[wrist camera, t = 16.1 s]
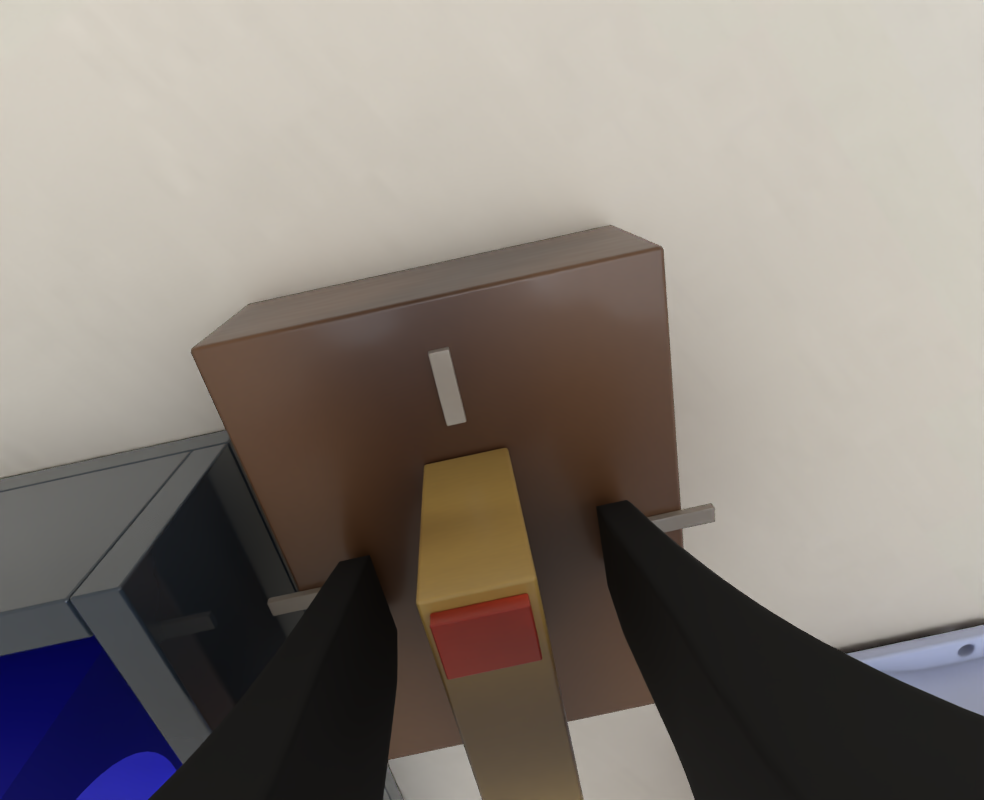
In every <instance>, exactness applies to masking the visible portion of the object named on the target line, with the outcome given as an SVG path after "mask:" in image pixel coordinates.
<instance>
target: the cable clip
mask: <svg viewBox="0 0 984 800" xmlns="http://www.w3.org/2000/svg"><path fill="white" fill-rule="evenodd" d="M182 765H183V764H182V763H181V762H180V760H179V759H178V757H177V756H176V754H175V753H174V751H173V750H172V749H171V747H170V746H169V744H168V743H167V741H166V740H165V738H164V737H163V735H162V734H161V733H160V731H159V730H158V728H157V727H156V725H155V724H154V722H153V721H152V719H151V718H150V717H149V715H148V714H147V712H146V711H145V709H144V708H143V706H142V705H141V704H140V702H139V701H138V699H137V698H136V696H135V695H134V693H133V692H132V690H131V689H130V688H129V686H128V685H127V683H126V682H125V680H124V679H123V677H122V676H121V674H120V673H119V672H118V670H117V669H116V667H115V666H114V664H113V663H112V661H111V660H110V658H109V657H108V656H107V654H106V653H105V651H104V650H103V648H102V647H101V645H100V644H99V643H98V641H97V640H96V638H95V637H94V635H93V636H92V637H90V638H86V639H81V640H76V641H72V642H67V643H62V644H58V645H53V646H48V647H44V648H39V649H34V650H30V651H25V652H20V653H16V654H11V655H6V656H2V657H0V800H148V799H149V798H150V797H151V796H152V795H153V794H154V793H155V792H156V791H157V790H158V789H159V788H160V787H161V786H162V785H163V784H164V783H165V782H166V781H167V780H168V779H169V778H170V777H171V776H172V775H173V774H174V773H175V772H176V771H177V770H178V769H179V768H180V767H181V766H182Z"/></svg>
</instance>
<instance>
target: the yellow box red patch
mask: <svg viewBox="0 0 984 800" xmlns="http://www.w3.org/2000/svg"><path fill="white" fill-rule="evenodd" d="M416 606H417V609H418V612H419V615H420V617H421V620H422V623H423V626H424V629H425V632H426V635H427V638H428V641H429V644H430V647H431V650H432V653H433V656H434V659H435V662H436V665H437V668H438V671H439V674H440V677H441V679H442V682H443V685H444V688H445V691H446V694H447V697H448V700H449V703H450V706H451V709H452V712H453V715H454V718H455V721H456V724H457V727H458V730H459V733H460V736H461V739H462V741H463V744H464V747H465V750H466V753H467V756H468V759H469V762H470V765H471V768H472V771H473V774H474V777H475V780H476V783H477V786H478V789H479V792H480V795H481V798H482V800H584V799H583V794H582V789H581V785H580V780H579V775H578V770H577V766H576V761H575V756H574V751H573V747H572V742H571V737H570V732H569V728H568V723H567V718H566V713H565V709H564V704H563V699H562V694H561V690H560V685H559V680H558V675H557V671H556V666H555V661H554V657H553V652H552V647H551V642H550V638H549V633H548V628H547V623H546V619H545V614H544V609H543V604H542V600H541V595H540V590H539V585H538V581H537V576H536V572H535V567H534V563H533V558H532V554H531V549H530V545H529V540H528V536H527V531H526V527H525V522H524V518H523V513H522V509H521V504H520V500H519V495H518V491H517V486H516V482H515V477H514V473H513V468H512V464H511V459H510V455H509V450H508V449H507V448H501V449H496V450H492V451H487V452H482V453H478V454H473V455H468V456H464V457H459V458H454V459H450V460H445V461H440V462H436V463H431V464H426V465H425V466H424V472H423V489H422V506H421V523H420V540H419V557H418V574H417V591H416Z"/></svg>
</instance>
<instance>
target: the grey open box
mask: <svg viewBox="0 0 984 800" xmlns="http://www.w3.org/2000/svg"><path fill="white" fill-rule="evenodd" d="M295 592H299V590H298V587H297V585H296V583H295V581H294V579H293V576H292V574H291V572H290V570H289V568H288V565H287V563H286V561H285V559H284V557H283V554H282V552H281V550H280V548H279V546H278V543H277V541H276V539H275V537H274V534H273V532H272V530H271V528H270V526H269V523H268V521H267V519H266V517H265V515H264V512H263V510H262V508H261V506H260V504H259V501H258V499H257V497H256V495H255V493H254V490H253V488H252V486H251V484H250V482H249V479H248V477H247V475H246V473H245V471H244V468H243V466H242V464H241V462H240V459H239V457H238V455H237V453H236V451H235V448H234V446H233V444H232V442H231V440H230V437H229V435H228V433H227V431H226V430H225V431H220V432H215V433H211V434H206V435H202V436H197V437H192V438H188V439H183V440H179V441H174V442H169V443H165V444H160V445H155V446H151V447H146V448H142V449H137V450H132V451H128V452H123V453H118V454H114V455H109V456H105V457H100V458H95V459H91V460H86V461H82V462H77V463H72V464H68V465H63V466H58V467H54V468H49V469H45V470H40V471H35V472H31V473H26V474H21V475H17V476H12V477H8V478H3V479H0V657H2V656H6V655H11V654H16V653H20V652H25V651H30V650H34V649H39V648H44V647H48V646H53V645H58V644H62V643H67V642H72V641H76V640H81V639H86V638H90V637H92V636H93V635H94V637H95V638H96V640H97V641H98V643H99V644H100V645H101V647H102V648H103V650H104V651H105V653H106V654H107V656H108V657H109V658H110V660H111V661H112V663H113V664H114V666H115V667H116V669H117V670H118V672H119V673H120V674H121V676H122V677H123V679H124V680H125V682H126V683H127V685H128V686H129V688H130V689H131V690H132V692H133V693H134V695H135V696H136V698H137V699H138V701H139V702H140V704H141V705H142V706H143V708H144V709H145V711H146V712H147V714H148V715H149V717H150V718H151V719H152V721H153V722H154V724H155V725H156V727H157V728H158V730H159V731H160V733H161V734H162V735H163V737H164V738H165V740H166V741H167V743H168V744H169V746H170V747H171V749H172V750H173V751H174V753H175V754H176V756H177V757H178V759H179V760H180V762H181V763H182V764H184V763H185V762H186V761H187V759H188V758H189V757H190V756H191V755H192V754H193V753H194V752H195V751H196V750H197V749H198V747H199V746H200V745H201V744H202V743H203V742H204V741H205V740H206V739H207V737H208V736H209V735H210V734H211V733H212V732H213V731H214V730H215V728H216V727H217V726H218V725H219V724H220V723H221V722H222V720H223V719H224V718H225V717H226V716H227V715H228V713H229V712H230V711H231V710H232V709H233V708H234V706H235V705H236V704H237V703H238V701H239V700H240V699H241V698H242V697H243V695H244V694H245V693H246V691H247V690H248V689H249V688H250V686H251V685H252V684H253V682H254V681H255V680H256V678H257V677H258V676H259V675H260V673H261V672H262V671H263V669H264V668H265V667H266V665H267V664H268V663H269V662H270V660H271V659H272V658H273V656H274V655H275V654H276V652H277V651H278V650H279V648H280V647H281V645H282V644H283V643H284V641H285V640H286V638H287V637H288V635H289V634H290V633H291V631H292V630H293V628H294V627H295V626H296V624H297V623H298V621H299V620H300V618H301V617H302V615H303V614H304V613H305V611H306V610H307V609H304V610H300V611H295V612H290V613H286V614H281V615H276V616H273V615H272V613H271V611H270V609H269V607H268V605H267V602H268V600H269V598H272V597H277V596H281V595H286V594H291V593H295ZM383 800H403V798H402V796H401V794H400V791H399V789H398V787H397V784H396V782H395V780H394V778H393V775H392V773H391V771H390V769H389V766H388V764H387V772H386V780H385V788H384V796H383Z"/></svg>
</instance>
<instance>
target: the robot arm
mask: <svg viewBox="0 0 984 800" xmlns="http://www.w3.org/2000/svg"><path fill="white" fill-rule="evenodd" d="M596 510H597V517H598V523H599V530H600V537H601V544H602V551H603V558H604V565H605V572H606V579H607V585H608V589H609V592H610V595H611V598H612V601H613V604H614V607H615V610H616V613H617V616H618V619H619V622H620V625H621V628H622V631H623V634H624V636H625V638H626V641H627V643H628V645H629V647H630V650H631V652H632V654H633V656H634V658H635V661H636V663H637V665H638V667H639V670H640V672H641V674H642V676H643V678H644V681H645V683H646V685H647V687H648V689H649V691H650V694H651V696H652V698H653V700H654V702H655V705H656V707H657V709H658V711H659V713H660V716H661V718H662V720H663V722H664V724H665V727H666V729H667V731H668V733H669V735H670V738H671V740H672V742H673V744H674V746H675V749H676V751H677V754H678V756H679V759H680V761H681V763H682V766H683V768H684V771H685V773H686V776H687V779H688V782H689V784H690V787H691V790H692V793H693V796H694V798H695V800H984V625H979V626H975V627H970V628H965V629H961V630H956V631H951V632H946V633H942V634H937V635H932V636H928V637H923V638H918V639H913V640H909V641H904V642H899V643H895V644H890V645H885V646H880V647H876V648H871V649H866V650H862V651H857V652H852V653H847V654H845V653H843V652H841V651H839V650H837V649H835V648H833V647H832V646H830V645H828V644H826V643H824V642H822V641H820V640H818V639H816V638H815V637H813V636H811V635H809V634H808V633H806V632H804V631H802V630H800V629H799V628H797V627H795V626H794V625H792V624H790V623H789V622H787V621H785V620H784V619H782V618H781V617H779V616H777V615H776V614H774V613H772V612H771V611H769V610H768V609H766V608H764V607H763V606H761V605H760V604H758V603H757V602H755V601H754V600H752V599H751V598H749V597H748V596H746V595H745V594H743V593H742V592H741V591H739V590H738V589H736V588H735V587H733V586H732V585H731V584H729V583H728V582H726V581H725V580H723V579H722V578H721V577H719V576H718V575H717V574H715V573H714V572H713V571H711V570H710V569H709V568H707V567H706V566H705V565H703V564H702V563H701V562H700V561H698V560H697V559H696V558H695V557H693V556H692V555H691V554H690V553H688V552H687V551H686V550H684V549H683V548H682V547H681V546H680V545H678V544H677V543H676V542H675V541H673V540H672V539H671V538H670V537H669V536H668V535H666V534H665V533H664V532H663V531H662V530H661V529H660V528H658V527H657V526H656V525H655V524H654V523H653V522H652V521H651V520H649V519H648V518H647V517H646V516H645V515H644V514H643V513H642V512H641V511H640V510H639V509H638V508H637V507H635V506H634V505H633V504H632V503H631V502H629V501H628V500H624V501H619V502H614V503H610V504H605V505H600V506H596ZM397 669H398V639H397V628H396V625H395V622H394V620H393V617H392V614H391V612H390V609H389V606H388V603H387V601H386V598H385V595H384V593H383V590H382V587H381V585H380V582H379V579H378V576H377V574H376V571H375V568H374V566H373V563H372V560H371V558H370V555H367V556H363V557H358V558H353V559H349V560H344V561H339V563H338V564H337V566H336V567H335V569H334V570H333V571H332V573H331V574H330V576H329V577H328V579H327V580H326V582H325V583H324V585H323V586H322V587H321V589H320V590H319V592H318V593H317V595H316V596H315V598H314V599H313V601H312V602H311V604H310V605H309V607H308V608H307V610H306V611H305V613H304V614H303V615H302V617H301V618H300V620H299V621H298V623H297V624H296V626H295V627H294V628H293V630H292V631H291V633H290V634H289V635H288V637H287V638H286V640H285V641H284V643H283V644H282V645H281V647H280V648H279V650H278V651H277V652H276V654H275V655H274V656H273V658H272V659H271V660H270V662H269V663H268V664H267V665H266V667H265V668H264V669H263V671H262V672H261V673H260V675H259V676H258V677H257V678H256V680H255V681H254V682H253V684H252V685H251V686H250V688H249V689H248V690H247V691H246V693H245V694H244V695H243V697H242V698H241V699H240V700H239V701H238V703H237V704H236V705H235V706H234V708H233V709H232V710H231V711H230V712H229V713H228V715H227V716H226V717H225V718H224V719H223V720H222V722H221V723H220V724H219V725H218V726H217V727H216V728H215V730H214V731H213V732H212V733H211V734H210V735H209V736H208V737H207V739H206V740H205V741H204V742H203V743H202V744H201V745H200V746H199V747H198V749H197V750H196V751H195V752H194V753H193V754H192V755H191V756H190V757H189V758H188V759H187V761H186V762H185V763H184V764H183V765H182V766H181V767H180V768H179V769H178V770H177V771H176V772H175V773H174V774H173V775H172V776H171V777H170V778H169V779H168V780H167V781H166V782H165V783H164V784H163V785H162V786H161V787H160V788H159V789H158V790H157V791H156V792H155V793H154V794H153V795H152V796H151V797H150V798H149V799H148V800H383V796H384V788H385V780H386V772H387V764H388V756H389V748H390V740H391V732H392V724H393V715H394V707H395V698H396V689H397Z"/></svg>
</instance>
